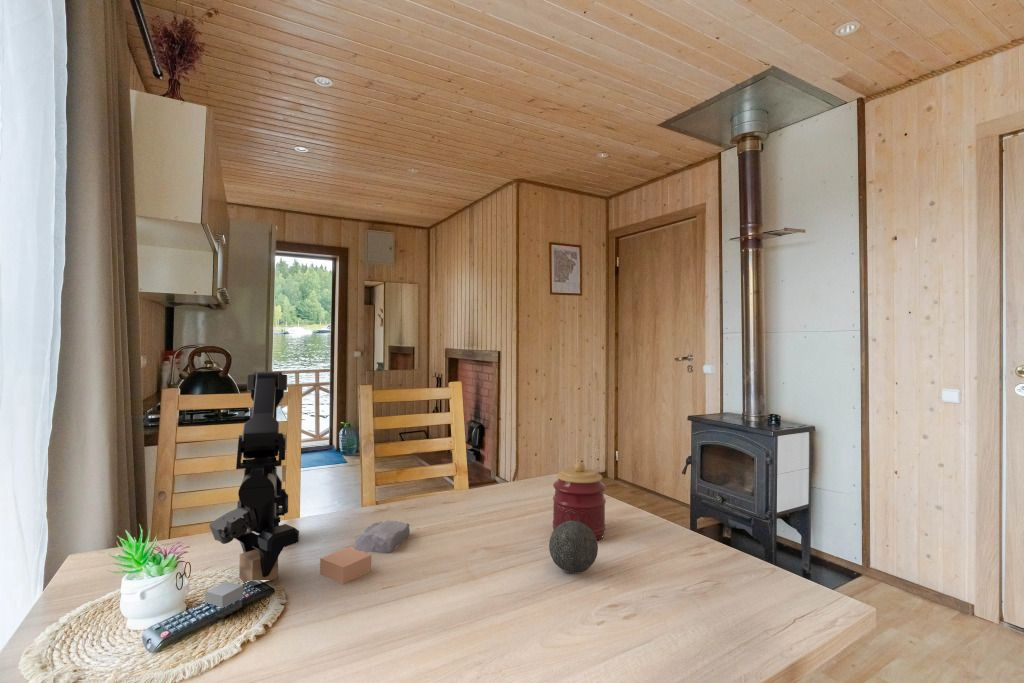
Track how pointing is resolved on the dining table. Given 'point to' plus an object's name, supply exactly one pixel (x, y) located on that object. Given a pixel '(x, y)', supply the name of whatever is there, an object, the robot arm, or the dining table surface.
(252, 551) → the walnut cube
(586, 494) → the canister
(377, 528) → the stone block
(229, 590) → the grey block
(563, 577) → the dining table surface
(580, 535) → the decorative ball
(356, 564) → the terracotta block
